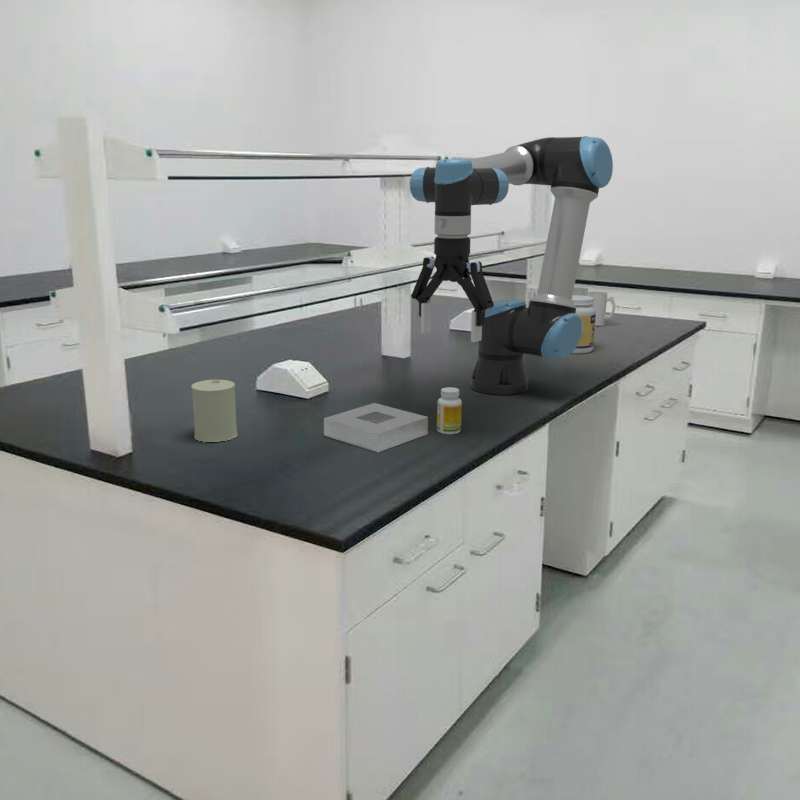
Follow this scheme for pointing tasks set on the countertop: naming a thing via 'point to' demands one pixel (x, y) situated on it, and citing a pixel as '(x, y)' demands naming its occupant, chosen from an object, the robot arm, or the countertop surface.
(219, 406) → the can
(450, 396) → the supplement bottle
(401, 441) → the block with square hole
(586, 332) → the supplement tub
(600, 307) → the mug
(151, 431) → the countertop surface
